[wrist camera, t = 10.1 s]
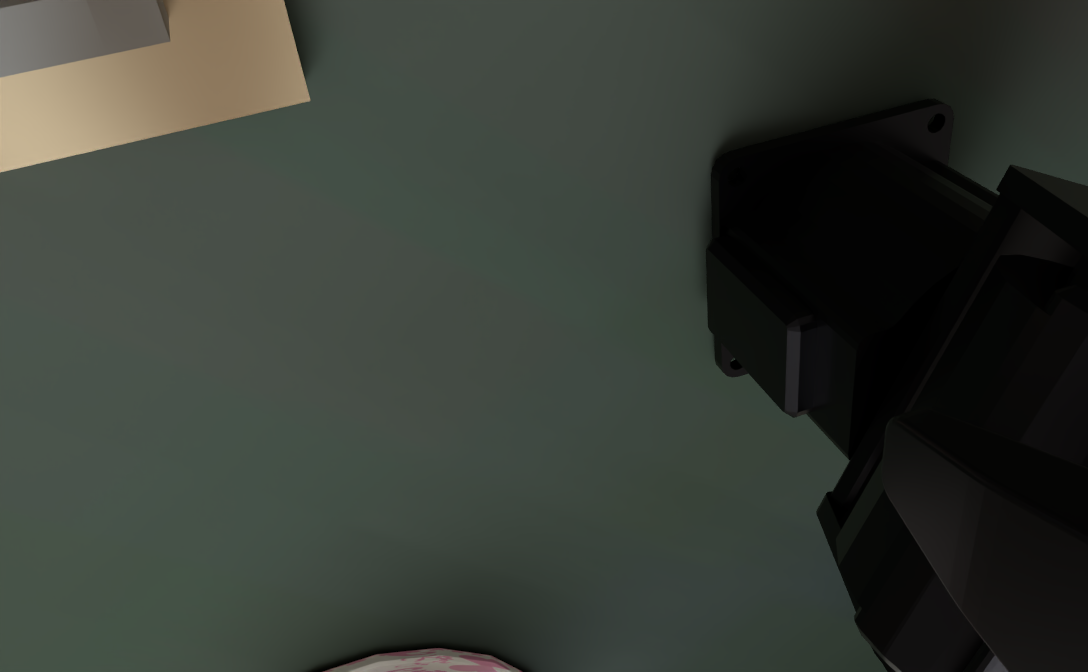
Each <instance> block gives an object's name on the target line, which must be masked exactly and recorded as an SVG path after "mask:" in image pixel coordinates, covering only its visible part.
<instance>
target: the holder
mask: <svg viewBox="0 0 1088 672" xmlns="http://www.w3.org/2000/svg"><path fill="white" fill-rule="evenodd" d="M308 101H310V97H309V93H308V90H307V86H306V82H305V78H304V75H303V71H302V67H301V63H300V59H299V56H298V52H297V48H296V44H295V41H294V37H293V33H292V29H291V26H290V22H289V18H288V14H287V10H286V7H285V3H284V0H0V172H4V171H8V170H12V169H17V168H21V167H25V166H30V165H34V164H38V163H43V162H47V161H52V160H56V159H60V158H65V157H69V156H73V155H78V154H82V153H86V152H91V151H95V150H99V149H104V148H108V147H112V146H117V145H121V144H125V143H130V142H134V141H138V140H143V139H147V138H151V137H156V136H160V135H164V134H169V133H173V132H177V131H182V130H186V129H191V128H195V127H199V126H204V125H208V124H212V123H217V122H221V121H225V120H230V119H234V118H238V117H243V116H247V115H251V114H256V113H260V112H264V111H269V110H273V109H277V108H282V107H286V106H290V105H295V104H299V103H303V102H308Z"/></svg>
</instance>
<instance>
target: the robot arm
mask: <svg viewBox="0 0 1088 672" xmlns="http://www.w3.org/2000/svg"><path fill="white" fill-rule="evenodd" d="M934 115H935V117H934V120H933V122H932V123H931V124H930V125H929V126H928V123H929V120H930V119H931V118H932V117H933V116H934ZM953 120H954V116H953V110H952V109H951V107H950V106H948V105H946V104H944V103H942V102H940V101H938V100H936V99H927V100H923V101H919V102H915V103H912V104H908V105H904V106H900V107H896V108H893V109H889V110H885V111H881V112H877V113H874V114H870V115H866V116H862V117H858V118H855V119H851V120H847V121H843V122H840V123H836V124H832V125H828V126H824V127H821V128H817V129H813V130H809V131H805V132H802V133H798V134H794V135H790V136H786V137H783V138H779V139H775V140H771V141H768V142H764V143H760V144H756V145H752V146H749V147H745V148H741V149H737V150H733V151H730V152H727V153H725V154H723V155H722V156H721V157H720V158H719V159H718V160H716V162H715V164H714V166H713V168H712V173H711V198H712V240H711V241H710V243H709V245H708V247H707V249H706V268H707V306H708V328H709V330H710V331H711V332H712V333H713V334H714V337H715V361H716V365H717V366H718V367H719V368H720V369H721V370H722V371H723V373H724V374H725V375H727V376H729V377H738V376H742V375H745V374H748V373H749V374H750V376H751V377H752V378H753V379H754V380H755V381H756V382H757V383H758V384H759V386H760V387H761V388H762V389H763V390H764V391H765V392H766V393H767V394H768V395H769V397H770V398H771V399H772V400H773V401H774V402H775V403H776V404H777V405H778V407H779V408H780V409H781V410H782V411H783V412H785V413H786V414H788V415H790V416H792V417H793V418H794V417H797V416H800V415H803V414H807V415H808V416H809V417H810V418H811V420H812V421H813V422H814V423H815V424H816V425H817V426H818V427H819V428H820V429H821V430H822V431H823V432H824V434H825V435H826V436H827V437H828V438H829V439H830V440H831V441H832V442H833V443H834V444H835V445H836V446H837V448H838V449H839V450H840V451H841V452H842V453H843V454H844V455H845V456H846V457H847V458H848V459H849V460H850V461H849V463H848V465H847V467H846V468H845V470H844V472H843V474H842V476H841V477H840V479H839V481H838V483H837V484H836V486H835V488H834V490H833V492H827V493H826V495H825V497H824V498H823V500H822V502H821V504H820V506H819V507H818V509H817V511H816V513H817V516H818V519H819V521H820V524H821V526H822V529H823V531H824V534H825V536H826V539H827V541H828V544H829V546H830V549H831V551H832V554H833V556H834V559H835V561H836V563H837V566H838V568H839V571H840V573H841V576H842V578H843V581H844V583H845V586H846V588H847V591H848V593H849V596H850V598H851V601H852V603H853V606H854V608H855V611H856V614H855V615H854V619H855V623H856V625H857V627H858V629H859V631H860V633H861V635H862V636H863V638H864V639H865V640H866V641H867V642H868V643H869V644H870V645H871V647H872V649H873V651H874V653H875V654H876V656H877V657H878V658H879V660H880V661H881V662H882V663H883V665H884V667H885V668H886V670H887V671H888V672H1088V186H1085V185H1082V184H1078V183H1075V182H1071V181H1068V180H1064V179H1061V178H1057V177H1054V176H1050V175H1047V174H1043V173H1040V172H1036V171H1033V170H1029V169H1026V168H1022V167H1019V166H1015V165H1010V166H1009V168H1008V170H1007V171H1006V173H1005V175H1004V177H1003V178H1002V180H1001V182H1000V184H999V186H998V187H997V189H996V190H997V191H998V192H1000V194H999V195H997V194H995V193H994V192H992V191H990V190H988V189H987V188H985V187H983V186H981V185H980V184H978V183H976V182H974V181H973V180H971V179H969V178H968V177H966V176H964V175H962V174H961V173H959V172H957V171H955V170H954V169H952V168H950V167H948V158H949V151H950V143H951V135H952V127H953ZM737 167H739V172H738V174H737V175H736V177H735V178H733V179H731V180H728V177H729V174H730V173H731V171H732V170H733V169H735V168H737ZM733 357H734V358H735V360H734V361H732V362H731V360H732V358H733Z"/></svg>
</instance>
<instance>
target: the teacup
mask: <svg viewBox="0 0 1088 672" xmlns="http://www.w3.org/2000/svg"><path fill="white" fill-rule="evenodd" d="M323 672H522V671H521V670H519V669H517V668H515V667H513V666H511V665H509V664H507V663H505V662H503V661H501V660H499V659H497V658H495V657H493V656H491V655H484V654H477V653H470V652H463V651H457V650H450V649H443V648H433V649H423V650H413V651H404V652H394V653H384V654H376V655H373V656H370V657H366V658H363V659H360V660H357V661H354V662H351V663H348V664H345V665H342V666H339V667H335V668H332V669H329V670H326V671H323Z"/></svg>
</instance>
